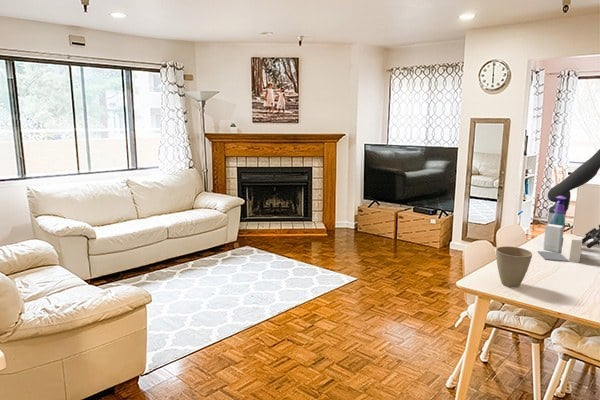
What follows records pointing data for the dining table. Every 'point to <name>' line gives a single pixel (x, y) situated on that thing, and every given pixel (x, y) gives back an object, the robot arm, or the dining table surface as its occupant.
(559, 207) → the lantern
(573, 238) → the block
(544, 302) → the dining table surface
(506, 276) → the plant pot
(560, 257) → the mat
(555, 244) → the skincare box
